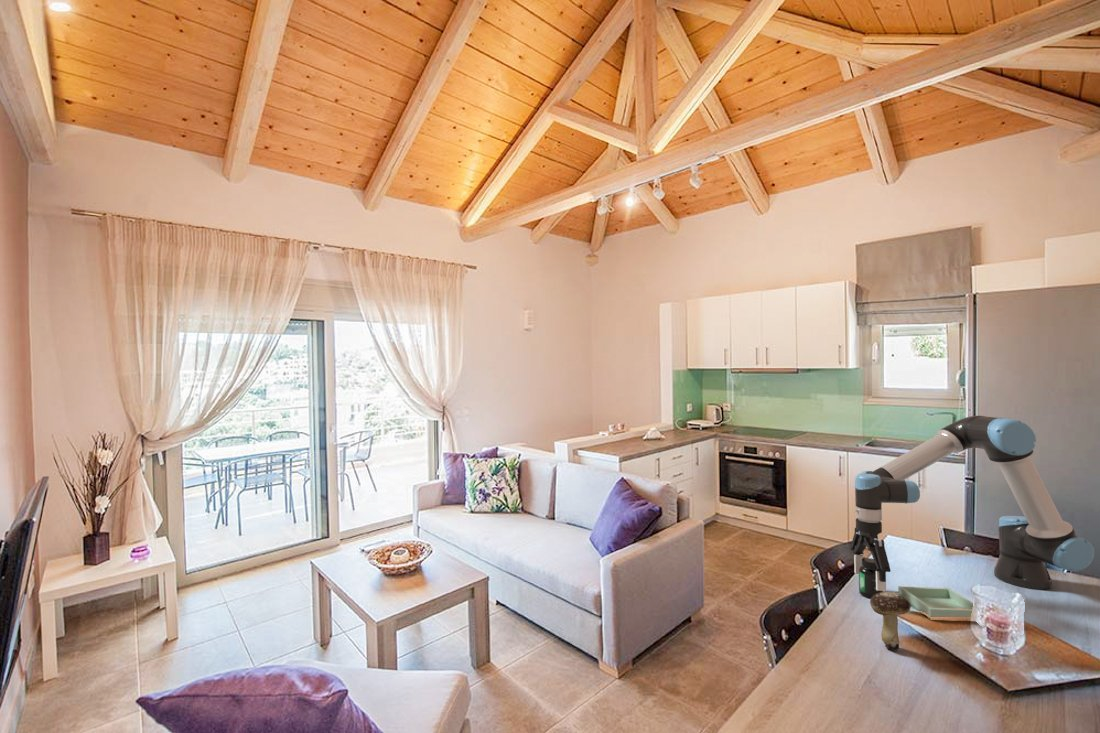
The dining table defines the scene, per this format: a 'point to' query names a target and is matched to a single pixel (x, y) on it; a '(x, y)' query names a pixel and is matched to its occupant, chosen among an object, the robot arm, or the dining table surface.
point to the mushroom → (890, 615)
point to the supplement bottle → (867, 578)
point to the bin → (937, 601)
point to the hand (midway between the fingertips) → (869, 581)
